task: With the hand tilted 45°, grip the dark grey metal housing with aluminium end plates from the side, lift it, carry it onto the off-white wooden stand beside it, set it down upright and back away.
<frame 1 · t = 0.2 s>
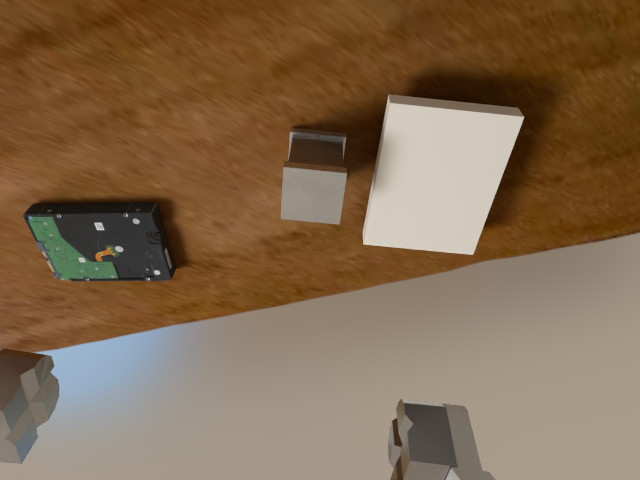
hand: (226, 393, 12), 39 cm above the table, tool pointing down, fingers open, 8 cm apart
housing: (316, 154, 51), on the table
disk drive: (109, 234, 60), on the table
stand: (430, 166, 51), on the table
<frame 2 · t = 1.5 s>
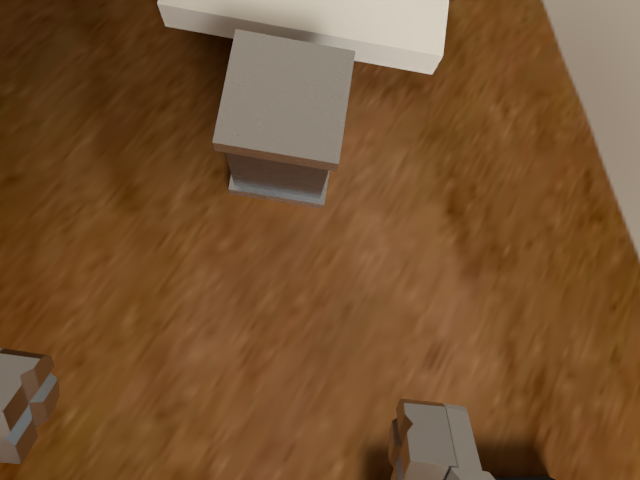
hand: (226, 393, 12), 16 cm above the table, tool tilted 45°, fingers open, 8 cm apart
housing: (284, 157, 30), on the table
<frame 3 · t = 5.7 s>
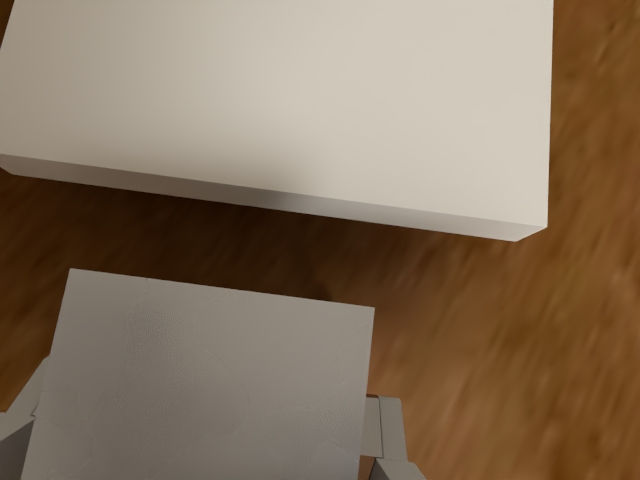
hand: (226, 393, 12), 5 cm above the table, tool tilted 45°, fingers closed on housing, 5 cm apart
housing: (243, 398, 16), on the table, touching gripper
stand: (292, 71, 19), on the table
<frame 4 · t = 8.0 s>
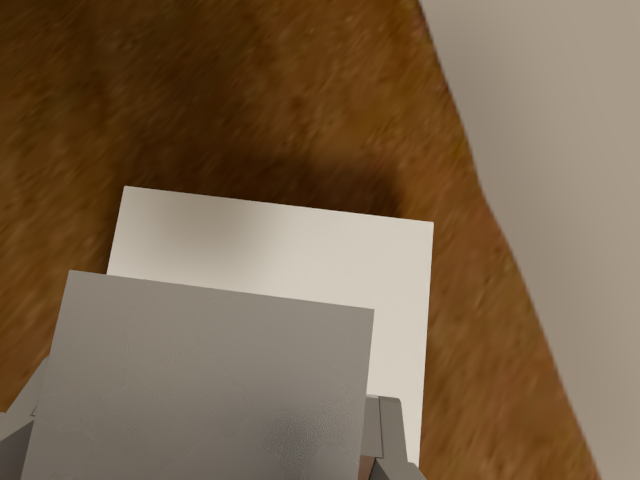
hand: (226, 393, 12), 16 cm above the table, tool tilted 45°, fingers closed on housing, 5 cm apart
housing: (244, 399, 16), point 11 cm above the table, touching gripper
stand: (269, 324, 28), on the table
when the fingers open (10 cm above the table, at t = 10.6 s): housing moves 2 cm, resting on stand.
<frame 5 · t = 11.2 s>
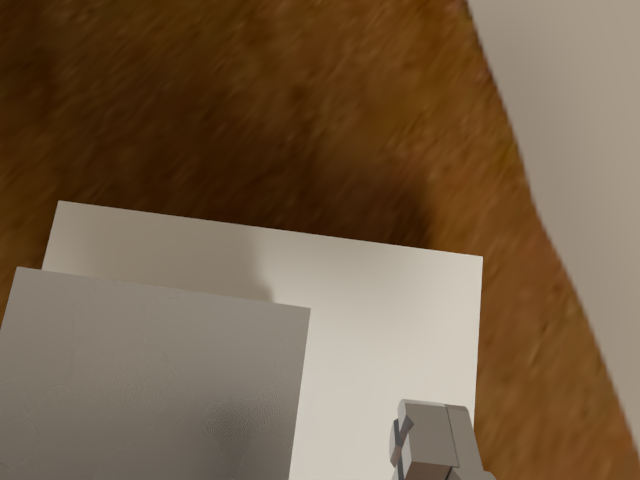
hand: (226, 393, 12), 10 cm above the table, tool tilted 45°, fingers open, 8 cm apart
housing: (183, 390, 17), point 4 cm above the table, tilted 7°, touching gripper, stand
stand: (256, 385, 21), on the table
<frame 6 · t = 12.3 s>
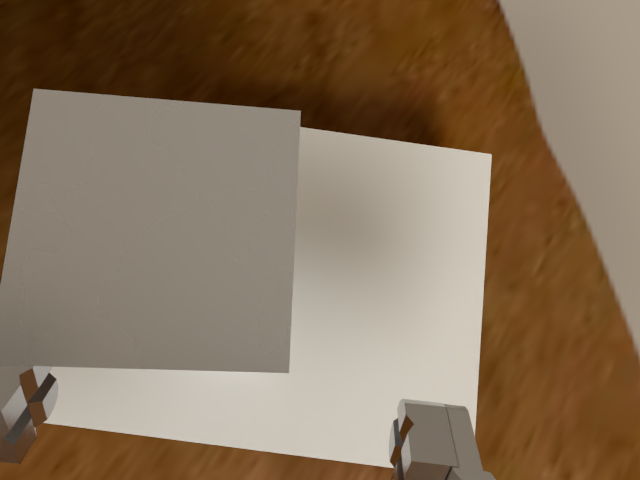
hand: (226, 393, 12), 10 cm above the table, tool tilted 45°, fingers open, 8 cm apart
housing: (204, 277, 18), point 4 cm above the table, touching gripper
stand: (273, 287, 22), on the table
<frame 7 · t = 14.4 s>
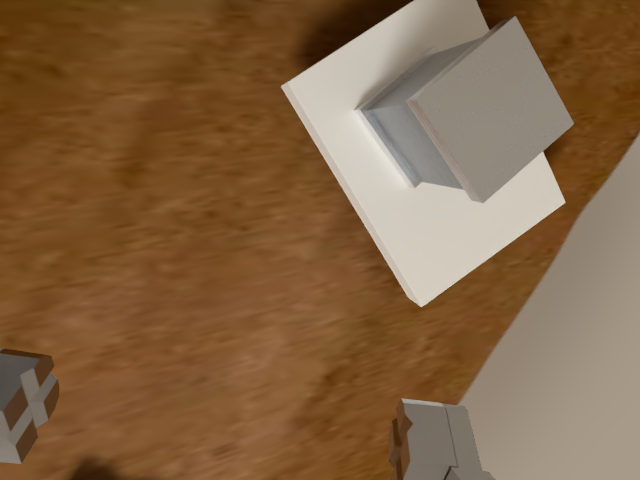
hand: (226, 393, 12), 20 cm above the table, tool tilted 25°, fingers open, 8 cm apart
housing: (417, 119, 29), point 4 cm above the table, touching stand
stand: (412, 147, 33), on the table
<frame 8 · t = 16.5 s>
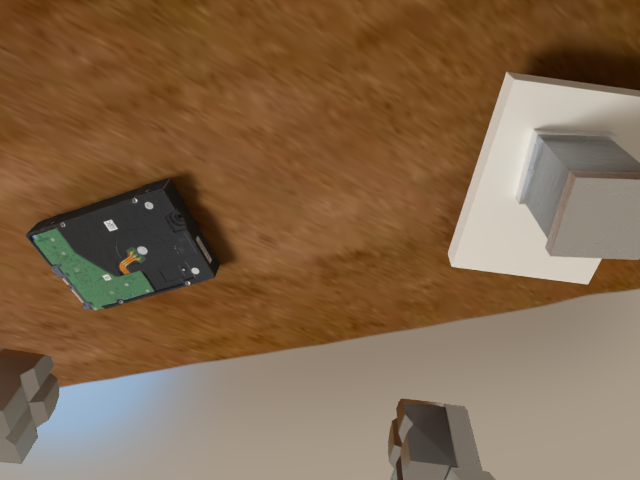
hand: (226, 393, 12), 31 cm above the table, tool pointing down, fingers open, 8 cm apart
housing: (561, 166, 37), point 4 cm above the table, touching stand
disk drive: (132, 240, 48), on the table
stand: (538, 172, 41), on the table
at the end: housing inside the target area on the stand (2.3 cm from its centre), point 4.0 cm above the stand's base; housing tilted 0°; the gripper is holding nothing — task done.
